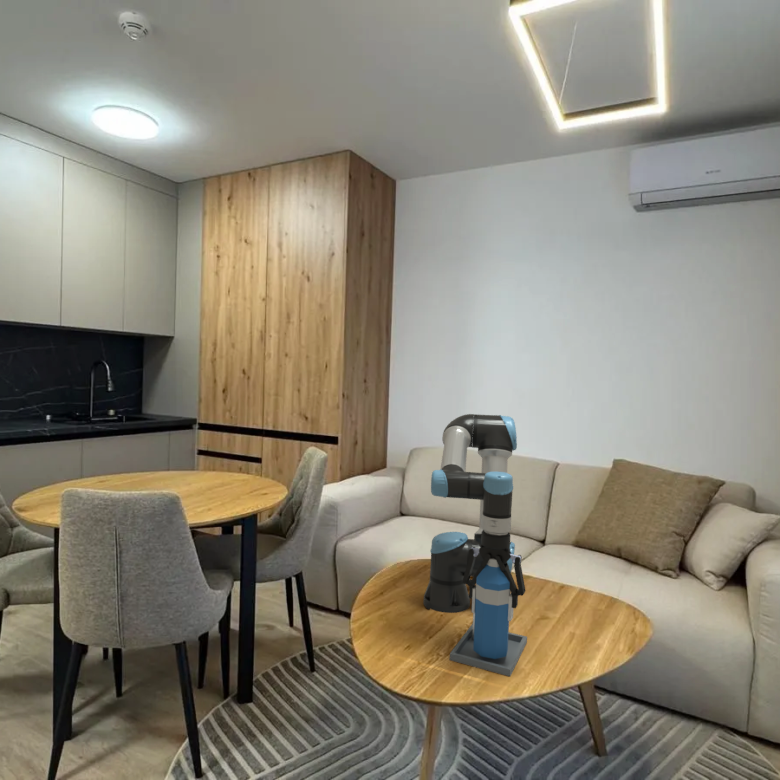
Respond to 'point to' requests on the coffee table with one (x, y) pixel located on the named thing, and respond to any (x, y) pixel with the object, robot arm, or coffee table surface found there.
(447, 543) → the robot arm
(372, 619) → the coffee table surface
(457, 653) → the tray
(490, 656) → the water bottle
